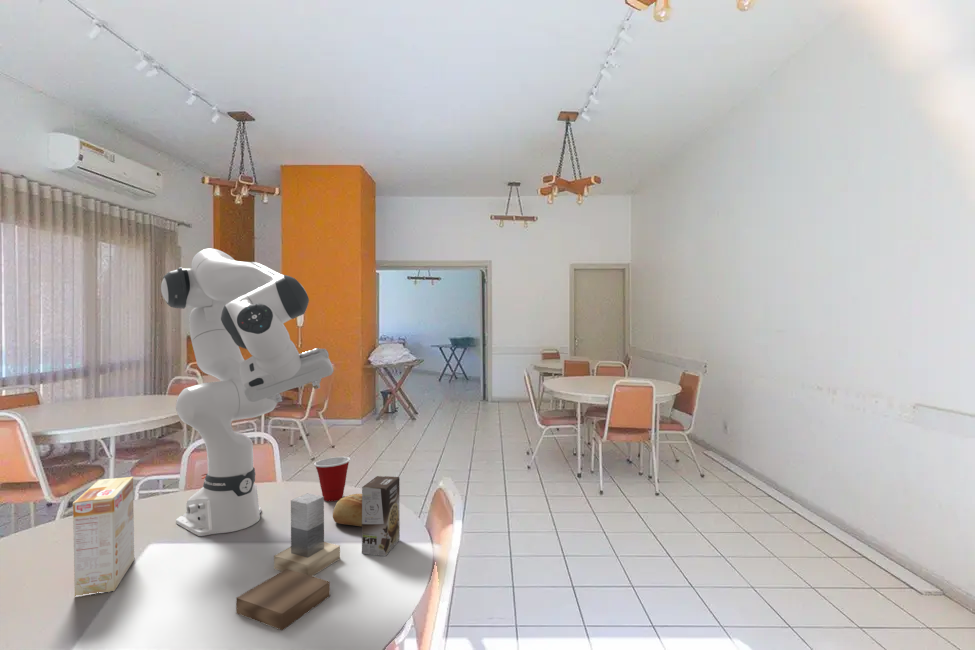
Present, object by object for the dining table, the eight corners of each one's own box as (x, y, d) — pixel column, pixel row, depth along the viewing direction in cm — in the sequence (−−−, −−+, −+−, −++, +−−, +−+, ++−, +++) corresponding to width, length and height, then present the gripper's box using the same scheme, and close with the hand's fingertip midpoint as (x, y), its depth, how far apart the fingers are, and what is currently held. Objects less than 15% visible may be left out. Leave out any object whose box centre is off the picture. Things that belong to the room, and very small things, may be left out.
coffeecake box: (98, 564, 113) (97, 479, 113) (136, 558, 116) (135, 475, 115) (72, 599, 99) (70, 502, 99) (115, 591, 102) (113, 497, 101)
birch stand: (274, 569, 111) (274, 555, 111) (307, 550, 120) (307, 537, 120) (307, 579, 106) (307, 565, 106) (340, 558, 115) (340, 545, 115)
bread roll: (373, 535, 128) (373, 504, 128) (323, 528, 132) (323, 498, 132) (391, 520, 137) (390, 492, 137) (343, 514, 141) (343, 486, 141)
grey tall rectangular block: (291, 553, 112) (290, 500, 112) (307, 544, 116) (307, 493, 116) (307, 557, 110) (307, 503, 110) (324, 548, 114) (323, 496, 114)
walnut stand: (236, 613, 94) (236, 597, 94) (286, 582, 105) (286, 568, 105) (282, 630, 89) (282, 613, 89) (329, 596, 100) (329, 581, 100)
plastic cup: (331, 490, 161) (330, 453, 161) (357, 495, 157) (357, 457, 157) (306, 501, 151) (306, 462, 151) (334, 507, 147) (333, 466, 147)
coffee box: (386, 556, 116) (386, 488, 116) (360, 554, 118) (360, 486, 117) (400, 539, 125) (400, 476, 125) (377, 537, 127) (376, 474, 126)
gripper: (322, 336, 118) (336, 369, 128) (232, 366, 112) (254, 397, 123) (328, 356, 114) (342, 388, 125) (235, 387, 109) (258, 418, 119)
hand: (298, 393), depth 124 cm, fingers open, 8 cm apart
